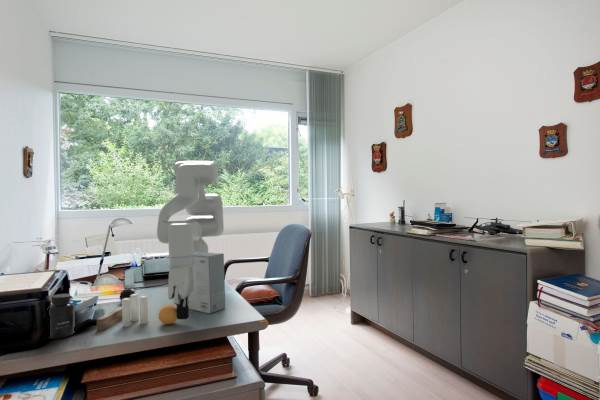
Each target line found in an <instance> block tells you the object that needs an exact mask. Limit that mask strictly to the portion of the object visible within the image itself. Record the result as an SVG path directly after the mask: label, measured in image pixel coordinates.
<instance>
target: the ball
mask: <svg viewBox="0 0 600 400" xmlns="http://www.w3.org/2000/svg"><path fill="white" fill-rule="evenodd" d="M158 319H159V321H160V323H162V324H163V325H171V324H173V323H175V322H176V321H177V320H178V319H177V307H176V305H174V304H173V305H172V304H166V305H165V306H162V308H160V310H159V312H158Z"/></svg>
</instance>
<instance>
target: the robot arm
mask: <svg viewBox="0 0 600 400" xmlns="http://www.w3.org/2000/svg"><path fill="white" fill-rule="evenodd" d="M173 173H174V175H175V183H174V184H175V185H174V196H172V198H171V197H170V199H169V200H168V201H166V203H165V204H164V205H163V207H162V208H161V210H160V211H159V214H158V218H157V220H158V221H157V228H156V238H157V240H158V241H159V242H160V243H162V244H168V267H169V271H168V283H167V284H168V286H167V287H168V289H167V290H168V292H167V295H168V297H167V298H168V299H169V300H172V299H173V305H175V307H176V308H177V320H187V319H189V317H190V316H189V315H190V314H189V313H190V312H189V311H190V309H188V304H189V296H190V294H191V293H192V292H193V270H192V266H193V265H194V257H193V252H209V246H208V243H207V242H206V241H205V239H203V238H205V237H206V238H209V237H212V238H213V237H219V236H221V235H223V233H224V227H225V226H224V225H225V224H224V209H223V208H224V206H223V201H222V197H221V196H220V195H219V194H218V193H205V186H213V185H215V183H216V182H217V178H218V177H219V176H218V174H219V169H218V165H217V162H215V161H213V160H181V161H177V162H175V163H174V164H173ZM184 210H185V211H186V213H187V214H188V215H190V217H187V218H186V219H185V220H171V221H170V218H171V217H172V216H174V215H175V214H177V213H179V212H181V211H184Z"/></svg>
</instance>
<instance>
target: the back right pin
mask: <svg viewBox="0 0 600 400" xmlns="http://www.w3.org/2000/svg"><path fill="white" fill-rule="evenodd" d="M130 314H131V322H138V321H140V304H139V293H135V294H132V295H130Z"/></svg>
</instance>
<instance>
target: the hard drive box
mask: <svg viewBox="0 0 600 400" xmlns="http://www.w3.org/2000/svg"><path fill="white" fill-rule="evenodd" d="M193 257H194V265H193V266H192V270H193V292H192V293H191V294H190V296H189V304H188V309H189V310H193V311H197V312H201V313H204V314H205V313H206V314H213V313H215V312H219V311H221V310H224V309H225V308H226V289H225V288H226V287H225V286H226V283H225V255H224V253H221V252H210V251H208V252H193Z"/></svg>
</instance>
